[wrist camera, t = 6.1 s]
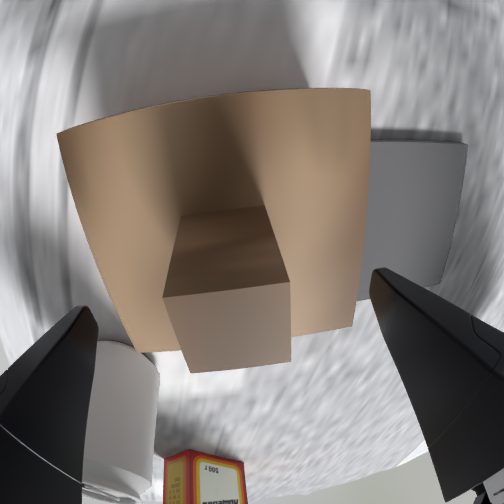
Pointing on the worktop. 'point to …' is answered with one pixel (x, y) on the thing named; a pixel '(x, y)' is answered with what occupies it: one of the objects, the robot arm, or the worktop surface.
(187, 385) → the worktop surface
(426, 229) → the mat
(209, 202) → the lid
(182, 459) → the baking soda box
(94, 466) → the can
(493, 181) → the worktop surface
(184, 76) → the worktop surface
